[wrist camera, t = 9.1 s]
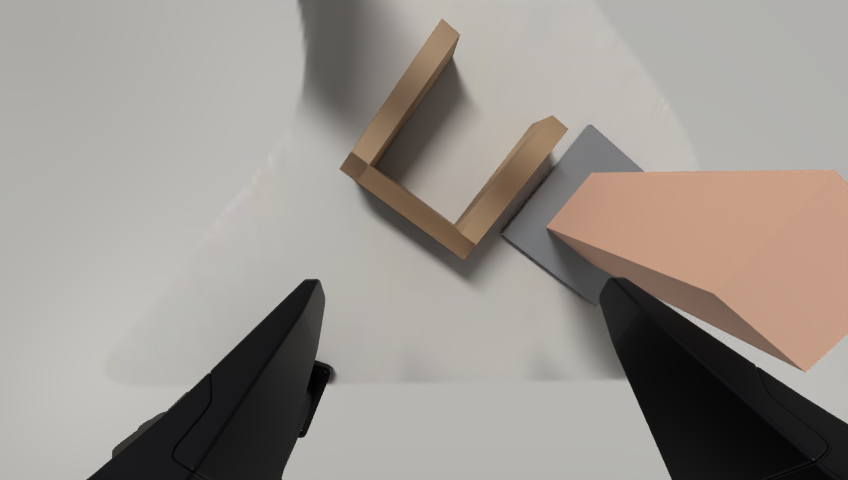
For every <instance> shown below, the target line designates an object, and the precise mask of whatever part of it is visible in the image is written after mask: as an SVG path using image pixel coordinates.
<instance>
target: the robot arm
mask: <svg viewBox="0 0 848 480" xmlns="http://www.w3.org/2000/svg"><path fill="white" fill-rule="evenodd" d="M599 302H600V305H601V308H602V311H603V315H604V318H605V321H606V324H607V327H608V331H609V334H610V337H611V340H612V343H613V346H614V348H615V350H616V353H617V355H618V358H619V360H620V362H621V364H622V367H623V369H624V371H625V374H626V376H627V378H628V380H629V383H630V385H631V387H632V389H633V392H634V394H635V396H636V399H637V401H638V403H639V406H640V408H641V410H642V412H643V415H644V417H645V419H646V422H647V424H648V425H649V428H650V431H651V433H652V435H653V438H654V440H655V442H656V444H657V447H658V449H659V451H660V454H661V456H662V458H663V460H664V463H665V465H666V467H667V469H668V472H669V474H670V476H671V479H672V480H848V424H847V423H845V422H844V421H842V420H840V419H839V418H837V417H835V416H834V415H832V414H830V413H829V412H827V411H826V410H824V409H822V408H821V407H819V406H818V405H816V404H814V403H813V402H811V401H810V400H808V399H806V398H805V397H803V396H801V395H800V394H798V393H797V392H795V391H794V390H792V389H791V388H789V387H788V386H786V385H785V384H783V383H782V382H780V381H779V380H777V379H776V378H774V377H773V376H771V375H770V374H768V373H767V372H765V371H764V370H762V369H761V368H759V367H756V366H755V364H753V363H752V362H750V361H749V360H747V359H746V358H744V357H743V356H741V355H740V354H738V353H737V352H735V351H734V350H732V349H731V348H729V347H728V346H726V345H725V344H723V343H722V342H720V341H719V340H717V339H716V338H714V337H713V336H712V335H710V334H709V333H707V332H706V331H704V330H703V329H701V328H700V327H698V326H697V325H695V324H694V323H692V322H691V321H689V320H688V319H686V318H685V317H683V316H682V315H680V314H679V313H677V312H676V311H674V310H673V309H671V308H670V307H668V306H667V305H665V304H664V303H662V302H661V301H659V300H658V299H656V298H655V297H653V296H652V295H650V294H649V293H648V292H646V291H645V290H643V289H642V288H640V287H639V286H637V285H636V284H634V283H633V282H631V281H630V280H628V279H627V278H625V277H610V278H609V279H608V280H607V281H606V283H605V285H604V287H603V288H602V290H601V292H600V294H599ZM324 307H325V295H324V292H323V289H322V285H321V282H320V280H318V279H306V280H304V281H303V282H302V283H301V284H300V285H299V286H298V287H297V288H296V289H295V290H294V291H292V292H291V293H290V294H289V295H288V296H287V297H286V298H285V299H284V300H283V301H282V302H281V303H280V304H279V305H278V306H277V307H276V308H275V309H274V310H273V311H272V312H271V313H270V314H269V315H268V316H267V317H266V318H265V319H264V320H263V321H262V322H261V323H260V324H259V325H257V326H256V327H255V328H254V329H253V330H252V331H251V332H250V333H249V334H248V335H247V336H246V337H245V338H244V339H243V340H242V341H241V342H240V343H239V344H238V345H237V346H236V347H235V348H234V349H233V350H232V351H231V352H230V353H229V354H228V355H227V356H226V357H225V358H223V359H222V360H221V361H220V362H219V363H218V364H217V365H216V366H215V367H214V368H213V369H212V370H211V373H208V374H207V375H206V376H205V377H204V378H203V379H202V380H201V381H200V382H199V383H198V384H197V385H196V386H194V387H193V388H192V389H191V390H190V391H189V392H186V393H185V394H184V395H183V396H182V397H181V398H180V399H179V400H178V401H177V402H176V403H175V404H174V405H173V406H172V407H171V408H170V409H169V410H168V411H166V412H163V413H160V414H158V415H157V416H155V417H154V418H153V419H151V420H148V421H146V422H145V423H143V424H142V425H141V426H140V427H139V428H138V430H137V431H136V432H134V433H133V434H132V435H130V436H129V437H128V438H126V439H125V440H124V441H122V442H121V443H120V444H118V445H117V446H116V447H115V448H114V449H113V451H112V459H111V460H110V461H109V462H107V463H106V464H105V465H104V466H103V467H102V468H100V469H99V470H98V471H97V472H96V473H94V474H93V475H92V476H91V477H89V478H88V479H87V480H282V479H281V478H282V474H283V471H284V468H285V466H286V464H287V461H288V459H289V457H290V454H291V452H292V450H293V448H294V445H295V443H296V441H297V439H298V437H299V438H302V437H304V436H305V435H306V433H307V431H308V429H309V426H310V424H311V421H312V419H313V416H314V414H315V411H316V408H317V406H318V404H319V401H320V399H321V396H322V394H323V392H324V389H325V387H326V384H327V382H328V379H329V377H330V374H331V371H332V369H331V367H330V366H329V365H327V364H324V363H322V362H319V361H316V360H315V357H316V353H317V349H318V344H319V338H320V332H321V326H322V319H323V313H324ZM322 370H325V371H326V372H327V373H323V372H322ZM301 430H302V431H301Z"/></svg>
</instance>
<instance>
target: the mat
mask: <svg viewBox="0 0 848 480" xmlns="http://www.w3.org/2000/svg"><path fill="white" fill-rule="evenodd" d="M605 172H644V171H643V170H642V169H641V168H640V167H638V166H637V165H636V164H635V163H634V162H633V161H632V160H631V159H629V158H628V157H627V156H626V155H625V154H624V153H623V152H622V151H620V150H619V149H618V148H617V147H616V146H615V145H614V144H613V143H612V142H610V141H609V140H608V139H607V138H606V137H605V136H604V135H603V134H601V133H600V132H599V131H598V130H597V129H596V128H595V127H594V126H592V125H588V126H587V127H586V128H585V129H584V131H583V132H582V133H581V134H580V136H579V137H578V138H577V139H576V141H575V142H574V143H573V144H572V146H571V147H570V148H569V149H568V150H567V152H566V153H565V154H564V155H563V157H562V158H561V159H560V160H559V162H558V163H557V164H556V165H555V167H554V168H553V169H552V170H551V172H550V173H549V174H548V175H547V177H546V178H545V179H544V180H543V181H542V183H541V184H540V185H539V186H538V188H537V189H536V190H535V191H534V193H533V194H532V195H531V196H530V198H529V199H528V200H527V201H526V203H525V204H524V205H523V206H522V208H521V209H520V210H519V211H518V212H517V214H516V215H515V216H514V217H513V219H512V220H511V221H510V222H509V224H508V225H507V226H506V227H505V229H504V230H503V231H502V232H501V234H502V235H503V236H504V237H506V238H507V239H508V240H510V241H511V242H512V243H514V244H515V245H516V246H517V247H519V248H520V249H521V250H523V251H524V252H525V253H527V254H528V255H529V256H530V257H532V258H533V259H534V260H536V261H537V262H538V263H540V264H541V265H542V266H543V267H545V268H546V269H547V270H549V271H550V272H551V273H553V274H554V275H555V276H557V277H558V278H559V279H560V280H562V281H563V282H564V283H566V284H567V285H568V286H570V287H571V288H572V289H573V290H575V291H576V292H577V293H579V294H580V295H581V296H583V297H584V298H585V299H586V300H588V301H589V302H590V303H592V304H593V305H594V306H596V305H597V304H598V303H599V294H600V292H601V290H602V288H603V287H604V285H605V283H606V281H607V280H608V279H609V278H610V277H615V276H613V275H611V274H609V273H607V272H605V271H603V270H601V269H599V268H597V267H595V266H594V265H592V264H591V263H590V262H589V261H587V260H586V259H585V258H584V257H582V256H581V255H580V254H579V253H577V252H576V251H575V250H574V249H572V248H571V247H570V246H569V245H567V244H566V243H565V242H564V241H562V240H561V239H560V238H559V237H557V236H556V235H555V234H554V233H553V232H551V231H550V230H549V229H548V228H546V227H547V225H548V224H549V223H550V222H551V221H552V219H553V218H554V217H555V216H556V215H557V213H558V212H559V211H560V210H561V209H562V208H563V206H564V205H565V204H566V203H567V202H568V200H569V199H570V198H571V197H572V196H573V194H574V193H575V192H576V191H577V190H578V188H579V187H580V186H581V185H582V184H583V182H584V181H585V180H586V179H587V178H588V177H589V175H590V174H591V173H605Z"/></svg>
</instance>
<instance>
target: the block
mask: <svg viewBox="0 0 848 480" xmlns="http://www.w3.org/2000/svg"><path fill="white" fill-rule="evenodd" d="M546 228H548V229H549V230H550V231H551V232H553V233H554V234H555V235H556V236H557V237H559V238H560V239H561V240H562V241H564V242H565V243H566V244H567V245H569V246H570V247H571V248H572V249H574V250H575V251H576V252H577V253H579V254H580V255H581V256H582V257H584V258H585V259H586V260H587V261H589V262H590V263H591V264H592V265H594V266H595V267H597V268H599V269H601V270H603V271H605V272H607V273H609V274H611V275H613V276H615V277H625V278H627V279H628V280H630V281H631V282H633V283H634V284H636V285H637V286H639V287H640V288H642V289H643V290H645V291H646V292H648V293H649V294H651V295H653V296H655V297H657V298H659V299H661V300H663V301H665V302H667V303H669V304H671V305H673V306H675V307H677V308H679V309H681V310H683V311H685V312H687V313H689V314H691V315H693V316H695V317H697V318H699V319H701V320H703V321H705V322H707V323H709V324H710V325H712V326H714V327H716V328H718V329H720V330H722V331H724V332H726V333H728V334H730V335H732V336H734V337H736V338H738V339H740V340H742V341H744V342H746V343H748V344H750V345H752V346H754V347H756V348H758V349H760V350H762V351H764V352H766V353H768V354H770V355H772V356H774V357H776V358H778V359H780V360H782V361H784V362H786V363H788V364H790V365H792V366H794V367H796V368H798V369H800V370H802V371H804V372H806V371H807V370H808V369H810V367H812V366H813V365H814V364H815V363H816V362H817V361H818V360H819V359H820V358H821V357H823V356H824V355H825V354H826V353H827V352H828V351H829V350H830V349H831V348H832V347H833V346H835V345H836V344H837V343H838V342H839V341H840V340H841V339H842V338H843V337H845V336H846V335H847V334H848V183H847V182H846V181H845V180H844V179H843V178H842V177H841V176H840V175H839V174H838V172H837V171H836V170H791V171H790V170H788V171H787V170H785V171H694V172H605V173H591V174H590V175H589V177H588V178H587V179H586V180H585V181H584V182H583V184H582V185H581V186H580V187H579V188H578V190H577V191H576V192H575V193H574V194H573V196H572V197H571V198H570V199H569V200H568V202H567V203H566V204H565V205H564V206H563V208H562V209H561V210H560V211H559V212H558V213H557V215H556V216H555V217H554V218H553V219H552V221H551V222H550V223H549V224H548V225H547V227H546Z"/></svg>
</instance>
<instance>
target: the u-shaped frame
mask: <svg viewBox="0 0 848 480" xmlns="http://www.w3.org/2000/svg"><path fill="white" fill-rule="evenodd" d="M459 36H460V34H459V33H458V32H457V31H456V30H454V29H453V28H452V27H451V26H450V25H449V24H448V23H446V22H445V21H444V20H443V19H441V21H440V22H439V24H438V25H437V26H436V28H435V29H434V31H433V32H432V34H431V35H430V37H429V38H428V40H427V41H426V43H425V44H424V46H423V47H422V49H421V50H420V51H419V53H418V54H417V56H416V57H415V59H414V60H413V62H412V63H411V65H410V66H409V68H408V69H407V71H406V72H405V73H404V75H403V76H402V78H401V79H400V81H399V82H398V84H397V85H396V87H395V88H394V90H393V91H392V93H391V94H390V95H389V97H388V98H387V100H386V101H385V103H384V104H383V106H382V107H381V109H380V110H379V112H378V113H377V115H376V116H375V118H374V119H373V120H372V122H371V123H370V125H369V126H368V128H367V129H366V131H365V132H364V134H363V135H362V137H361V138H360V140H359V141H358V142H357V144H356V145H355V147H354V148H353V150H352V151H351V153H350V154H349V156H348V157H347V159H346V160H345V162H344V163H343V164H342V166H341V167H340V170H341V171H343V172H344V173H345V174H347V175H348V176H349V177H351V178H352V179H354V180H355V181H356V182H358V183H359V184H360V185H362V186H363V187H364V188H366V189H367V190H369V191H370V192H371V193H373V194H374V195H375V196H377V197H378V198H379V199H381V200H382V201H384V202H385V203H386V204H388V205H389V206H390V207H392V208H393V209H394V210H396V211H397V212H399V213H400V214H401V215H403V216H404V217H405V218H407V219H408V220H409V221H411V222H412V223H414V224H415V225H416V226H418V227H419V228H420V229H422V230H423V231H425V232H426V233H427V234H429V235H430V236H431V237H433V238H434V239H435V240H437V241H438V242H440V243H441V244H442V245H444V246H445V247H446V248H448V249H449V250H450V251H452V252H453V253H455V254H456V255H457V256H459V257H460V258H461V259H463V260H464V259H465V258H466V257H467V256H468V254H469V253H470V252H471V251H472V249H473V248H474V247H475V246H476V244H477V243H478V242H479V241H480V239H481V238H482V237H483V236H484V234H485V233H486V232H487V231H488V229H489V228H490V227H491V226H492V224H493V223H494V222H495V221H496V219H497V218H498V217H499V216H500V214H501V213H502V212H503V211H504V209H505V208H506V207H507V206H508V204H509V203H510V202H511V201H512V199H513V198H514V197H515V195H516V194H517V193H518V192H519V190H520V189H521V188H522V187H523V185H524V184H525V183H526V182H527V180H528V179H529V178H530V177H531V175H532V174H533V173H534V172H535V170H536V169H537V168H538V167H539V165H540V164H541V163H542V162H543V160H544V159H545V158H546V157H547V155H548V154H549V153H550V152H551V150H552V149H553V148H554V147H555V145H556V144H557V143H558V142H559V140H560V139H561V138H562V137H563V135H564V134H565V133H566V131H567V130H568V128H566V127H565V126H564V125H563V124H562V123H561V122H560V121H558V120H557V119H556V118H555V117H554V116H550V117H548V118H545V119H543V120H541V121H538V122H536V123H534V124H532V125H531V126H530V128H529V129H528V130H527V131H526V133H525V134H524V135H523V137H522V138H521V139H520V141H519V142H518V143H517V144H516V146H515V147H514V148H513V150H512V151H511V152H510V153H509V155H508V156H507V157H506V159H505V160H504V161H503V163H502V164H501V165H500V166H499V168H498V169H497V170H496V172H495V173H494V174H493V175H492V177H491V178H490V179H489V181H488V182H487V183H486V184H485V186H484V187H483V188H482V190H481V191H480V192H479V194H478V195H477V196H476V197H475V199H474V200H473V201H472V203H471V204H470V205H469V206H468V208H467V209H466V210H465V212H464V213H463V214H462V215H461V217H460V218H459V219H458V221H457V222H456V223H455V225H453V224H452V223H451V222H449V221H448V220H447V219H445V218H444V217H443V216H441V215H440V214H439V213H437V212H436V211H435V210H433V209H432V208H431V207H429V206H428V205H427V204H425V203H424V202H423V201H421V200H420V199H419V198H417V197H416V196H415V195H413V194H412V193H411V192H409V191H408V190H407V189H405V188H404V187H403V186H401V185H400V184H399V183H397V182H396V181H395V180H393V179H392V178H391V177H389V176H388V175H387V174H385V173H384V172H383V171H381V170H380V169H379V168H377V167H376V165H377V163H378V162H379V161H380V159H381V158H382V156H383V155H384V154H385V152H386V151H387V149H388V148H389V146H390V145H391V144H392V142H393V141H394V139H395V138H396V136H397V135H398V134H399V132H400V131H401V129H402V128H403V126H404V125H405V124H406V122H407V121H408V119H409V118H410V116H411V115H412V114H413V112H414V111H415V109H416V108H417V106H418V105H419V104H420V102H421V101H422V99H423V98H424V96H425V95H426V94H427V92H428V91H429V89H430V88H431V86H432V85H433V84H434V82H435V81H436V79H437V78H438V76H439V75H440V74H441V72H442V71H443V69H444V68H445V67H446V65H447V64H448V62H449V61H450V59H451V58H452V57H453V54H454V51H455V48H456V45H457V42H458V39H459Z"/></svg>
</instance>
